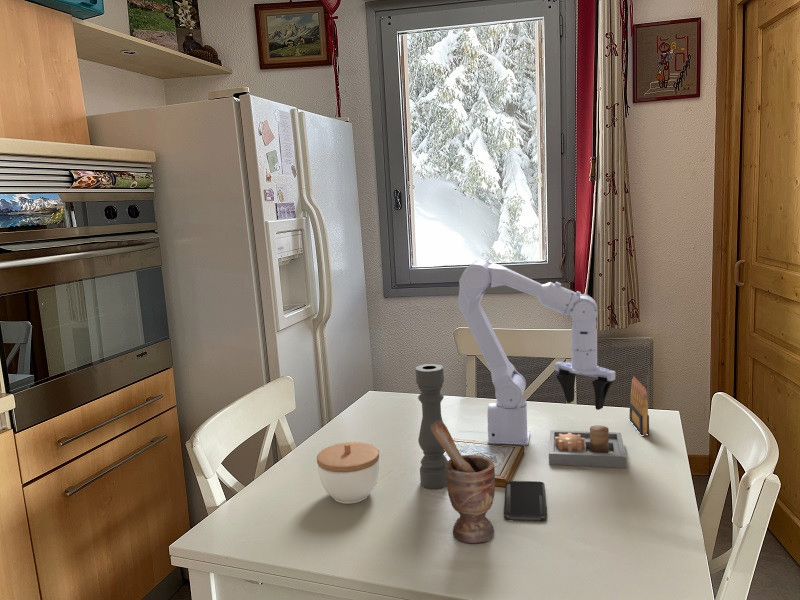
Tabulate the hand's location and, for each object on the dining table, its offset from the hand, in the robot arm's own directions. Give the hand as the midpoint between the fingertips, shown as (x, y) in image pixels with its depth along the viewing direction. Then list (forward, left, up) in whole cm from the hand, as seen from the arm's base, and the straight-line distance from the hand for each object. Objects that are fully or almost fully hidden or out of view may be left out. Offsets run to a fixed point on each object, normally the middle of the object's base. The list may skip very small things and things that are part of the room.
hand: (584, 405), depth 152 cm
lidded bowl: (-47, -33, -9) cm, 58 cm away
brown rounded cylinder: (+3, -6, -9) cm, 12 cm away
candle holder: (-31, -25, -9) cm, 41 cm away
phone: (-12, -31, -10) cm, 35 cm away
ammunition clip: (+13, +11, -10) cm, 19 cm away
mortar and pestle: (-22, -44, -9) cm, 50 cm away
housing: (0, -6, -9) cm, 11 cm away
